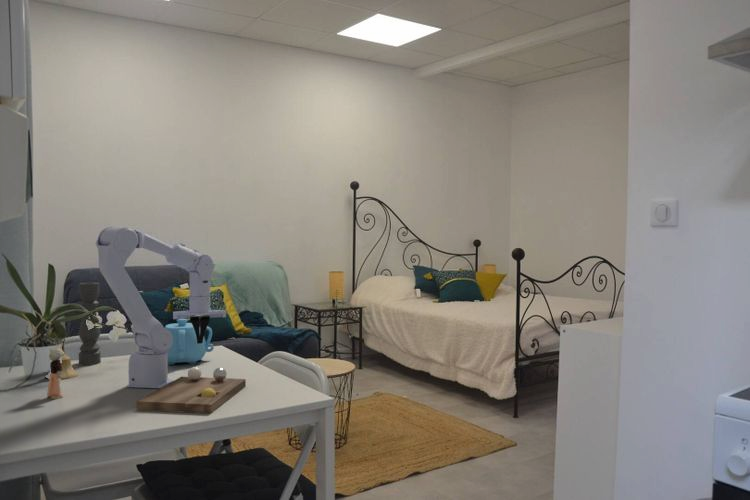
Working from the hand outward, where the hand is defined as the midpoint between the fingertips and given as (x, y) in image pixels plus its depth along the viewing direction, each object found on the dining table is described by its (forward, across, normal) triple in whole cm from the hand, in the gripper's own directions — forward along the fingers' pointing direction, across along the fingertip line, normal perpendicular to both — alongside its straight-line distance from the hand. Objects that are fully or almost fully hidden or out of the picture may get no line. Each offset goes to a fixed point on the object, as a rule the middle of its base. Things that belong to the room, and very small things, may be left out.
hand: (199, 342), depth 172 cm
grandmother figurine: (+10, -35, -13) cm, 39 cm away
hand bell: (+10, -37, +11) cm, 40 cm away
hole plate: (+9, -3, -23) cm, 25 cm away
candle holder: (+10, -31, +27) cm, 42 cm away
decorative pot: (+10, -4, +21) cm, 23 cm away
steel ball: (+6, +4, -16) cm, 18 cm away
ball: (+8, 0, -29) cm, 30 cm away
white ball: (+6, -2, -13) cm, 15 cm away
